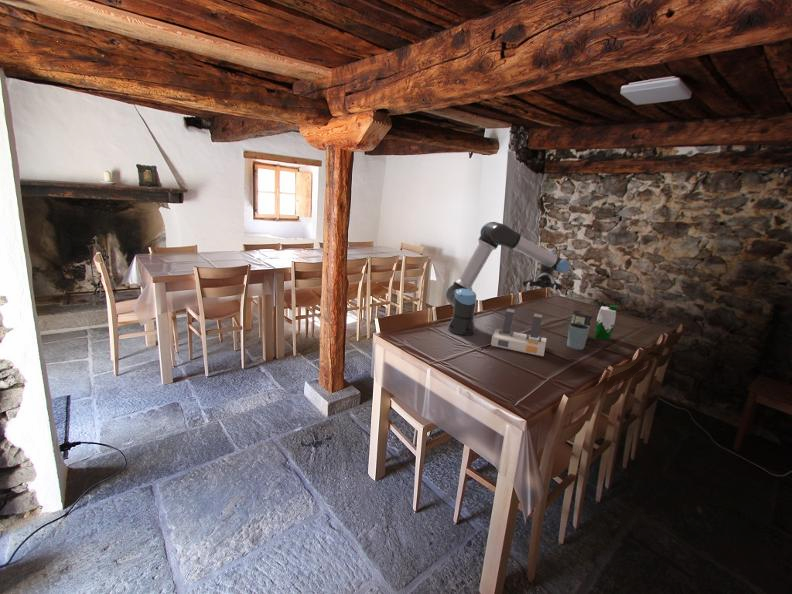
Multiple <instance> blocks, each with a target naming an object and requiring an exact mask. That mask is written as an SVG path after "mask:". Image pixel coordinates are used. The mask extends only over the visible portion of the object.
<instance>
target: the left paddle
mask: <svg viewBox="0 0 792 594" xmlns="http://www.w3.org/2000/svg"><path fill="white" fill-rule="evenodd" d="M514 316H515V309H512V308H506V312H505V316H504V321H503V327H502V330H503V332H508V333H510V332H511V331H512V327H513V321H514Z"/></svg>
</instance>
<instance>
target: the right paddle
mask: <svg viewBox="0 0 792 594" xmlns="http://www.w3.org/2000/svg"><path fill="white" fill-rule="evenodd" d="M542 320H543V314H539V313H533V319H532V325H531V329H530V333H529V334H530V337H533V338H538V337H539V336H540V329H541V325H542Z"/></svg>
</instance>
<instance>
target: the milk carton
mask: <svg viewBox="0 0 792 594" xmlns="http://www.w3.org/2000/svg"><path fill="white" fill-rule="evenodd" d="M617 312H618V305H614V304H609V307H608V306H604V305H602V306H601V307H600V309H599V312H598V314H597V319H596V323H595V326H594V327H595V328H594V339H597V338H598V340H601V339H603V340H602V341H606V340H607V342H609V341H610V339H611V336H612V333H613V331H614V326H615V322H616V316H617Z"/></svg>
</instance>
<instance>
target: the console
mask: <svg viewBox="0 0 792 594" xmlns="http://www.w3.org/2000/svg"><path fill="white" fill-rule="evenodd" d="M530 334H531V333H522V332H521V333H520V332H516V331H514V330H511V332H510V333H508V332H503V328H496V329H495V331H494V332H493V334H492V336H491V341H490V345H491V346H492V347H496V348H497V347H498V348H501V349H506V350H511V351H515V352H516V351H517V352H521V353H525V354H530V355H534V356H535V355H536V356H540V357H544V355H545V349H546V343H547V338H546V337H543V336H540V335H539V336H538V338H533V337H530Z"/></svg>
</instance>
